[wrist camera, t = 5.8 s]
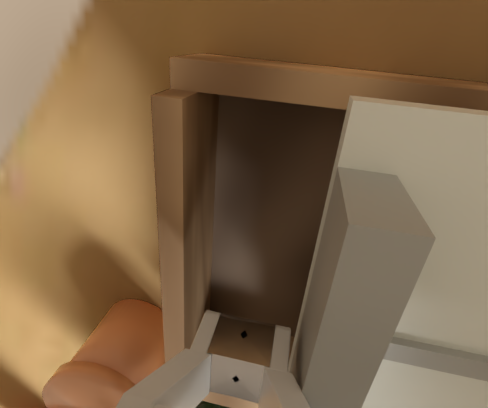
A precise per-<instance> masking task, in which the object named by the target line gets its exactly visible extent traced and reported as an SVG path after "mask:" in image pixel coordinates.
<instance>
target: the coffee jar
mask: <svg viewBox="0 0 488 408" xmlns="http://www.w3.org/2000/svg"><path fill="white" fill-rule="evenodd" d="M195 408H229V407H225V406H221V405H217V404H213V403H209V402H205V401H201V402H200V403H199V404H198V405H197V406H196V407H195Z"/></svg>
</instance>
